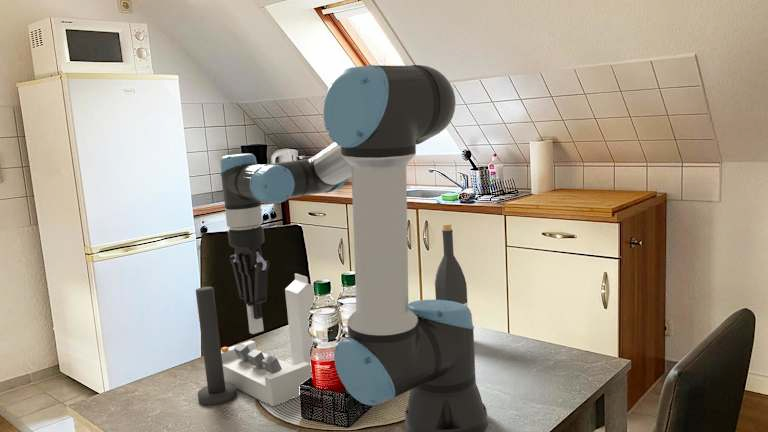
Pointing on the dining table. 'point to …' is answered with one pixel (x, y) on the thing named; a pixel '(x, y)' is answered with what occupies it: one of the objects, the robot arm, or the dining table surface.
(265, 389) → the strip
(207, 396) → the post
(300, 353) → the milk
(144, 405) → the dining table surface
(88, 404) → the dining table surface
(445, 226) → the wine bottle
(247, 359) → the paddle bank
